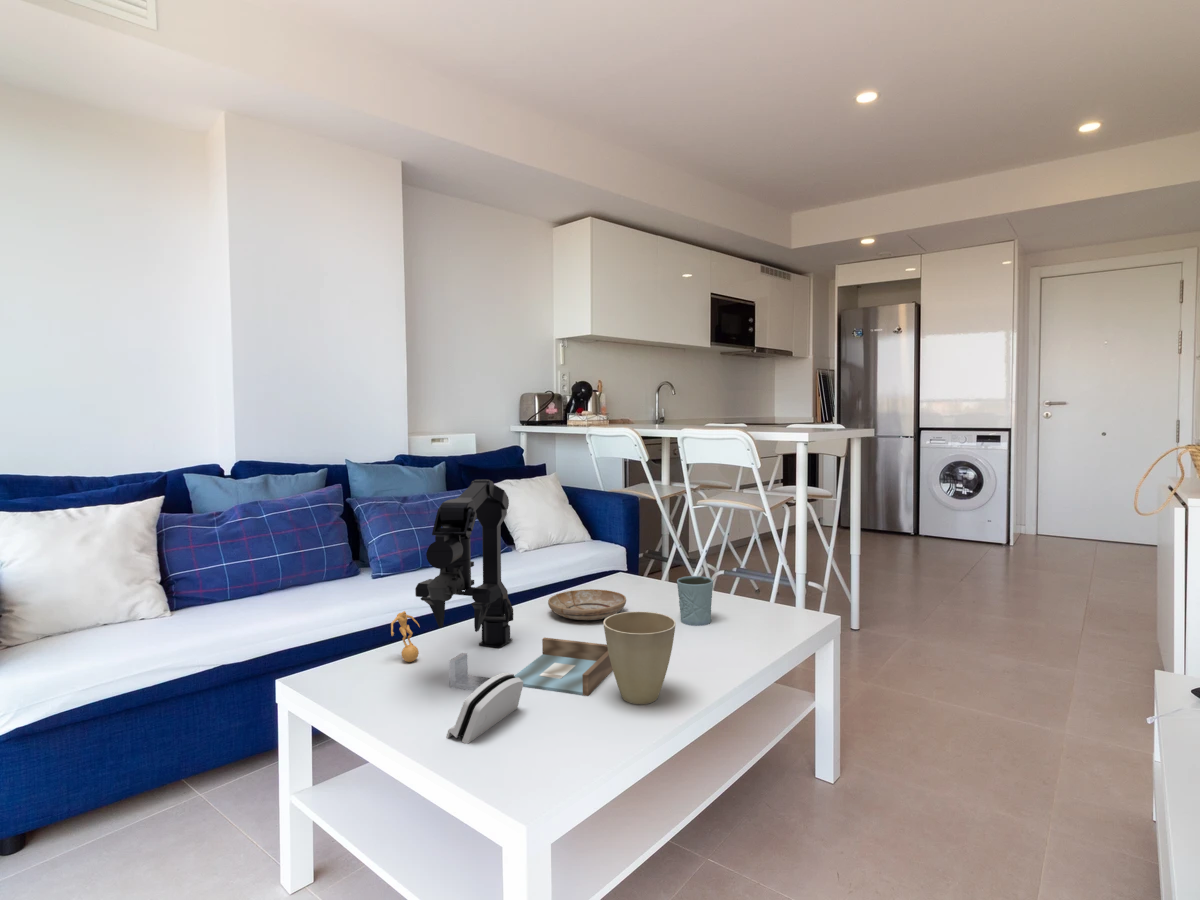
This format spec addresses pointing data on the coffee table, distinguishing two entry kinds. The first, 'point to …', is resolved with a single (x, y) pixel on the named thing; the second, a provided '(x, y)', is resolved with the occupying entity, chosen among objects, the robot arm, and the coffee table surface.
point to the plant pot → (639, 652)
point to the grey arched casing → (487, 706)
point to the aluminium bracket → (463, 674)
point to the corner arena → (568, 667)
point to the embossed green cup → (695, 600)
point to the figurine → (409, 650)
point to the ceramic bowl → (587, 604)
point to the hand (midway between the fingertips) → (458, 629)
